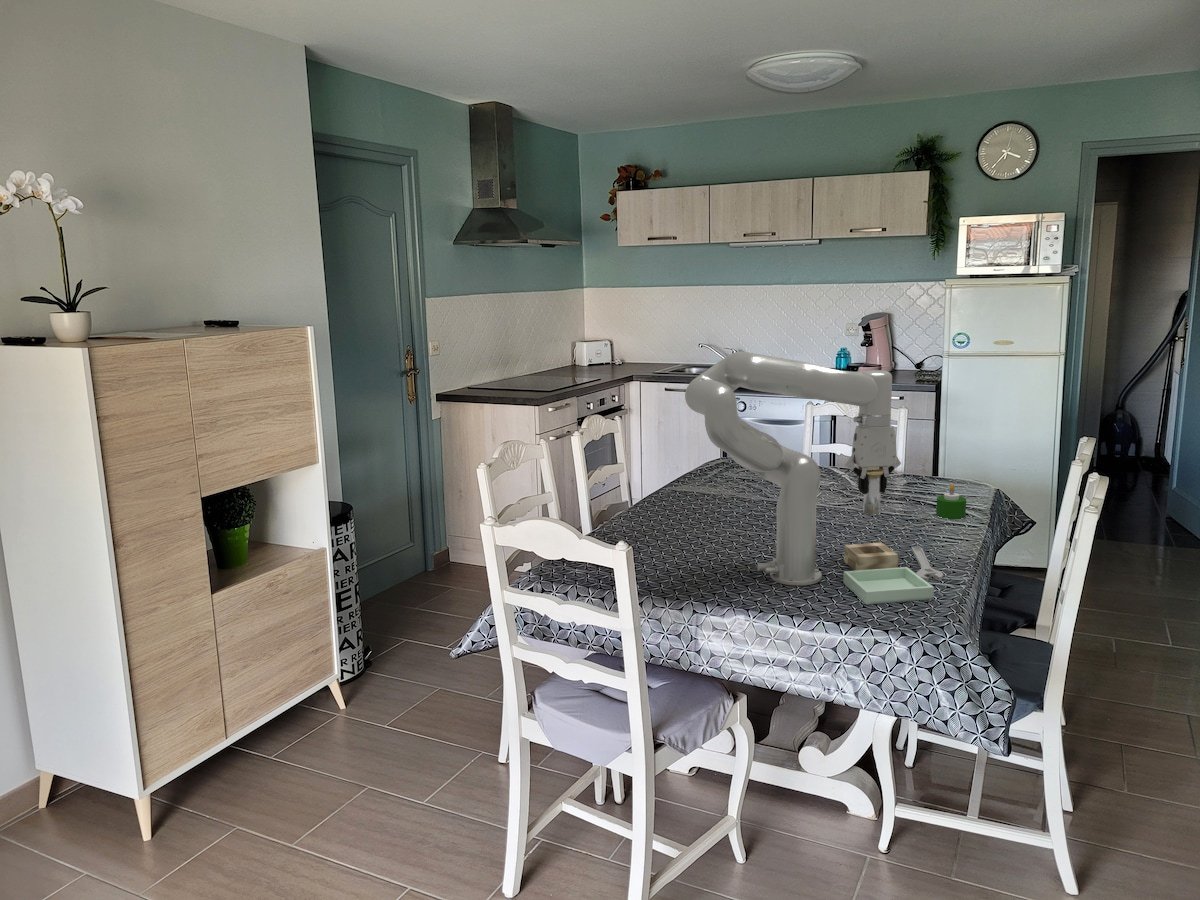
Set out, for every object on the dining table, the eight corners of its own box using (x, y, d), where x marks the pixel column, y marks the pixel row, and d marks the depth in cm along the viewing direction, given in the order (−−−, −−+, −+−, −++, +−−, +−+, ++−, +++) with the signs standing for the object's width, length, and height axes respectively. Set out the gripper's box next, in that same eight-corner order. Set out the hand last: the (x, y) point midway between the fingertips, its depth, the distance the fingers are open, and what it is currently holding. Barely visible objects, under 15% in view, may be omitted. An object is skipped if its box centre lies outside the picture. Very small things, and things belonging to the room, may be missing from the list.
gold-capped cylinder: (865, 515, 219) (867, 472, 217) (857, 509, 224) (858, 467, 222) (885, 514, 220) (887, 471, 217) (877, 508, 225) (878, 466, 222)
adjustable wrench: (910, 551, 237) (910, 545, 236) (936, 553, 235) (936, 546, 235) (916, 583, 213) (916, 576, 213) (944, 585, 212) (945, 578, 211)
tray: (866, 604, 200) (866, 592, 200) (843, 583, 214) (843, 571, 214) (933, 599, 202) (933, 587, 201) (906, 578, 216) (906, 567, 215)
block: (859, 574, 220) (859, 557, 219) (844, 561, 229) (844, 545, 228) (897, 571, 220) (898, 554, 220) (881, 558, 230) (881, 542, 229)
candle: (937, 519, 263) (938, 487, 261) (934, 511, 271) (936, 480, 269) (967, 520, 261) (968, 488, 259) (963, 512, 269) (965, 481, 266)
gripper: (847, 424, 213) (845, 497, 216) (913, 421, 214) (910, 494, 218) (836, 419, 220) (834, 490, 224) (900, 416, 222) (897, 487, 225)
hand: (872, 491), depth 221 cm, fingers closed on gold-capped cylinder, 4 cm apart
